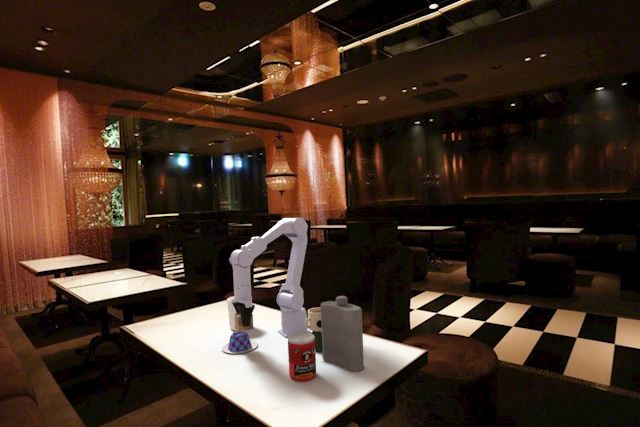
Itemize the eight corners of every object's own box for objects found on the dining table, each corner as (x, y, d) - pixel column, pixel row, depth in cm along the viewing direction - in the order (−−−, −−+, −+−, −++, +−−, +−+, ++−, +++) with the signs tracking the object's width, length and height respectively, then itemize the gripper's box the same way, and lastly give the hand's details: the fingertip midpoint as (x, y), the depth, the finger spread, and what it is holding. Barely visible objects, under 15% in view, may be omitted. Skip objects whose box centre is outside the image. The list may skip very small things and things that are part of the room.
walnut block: (249, 325, 127) (248, 310, 127) (253, 328, 123) (252, 314, 123) (235, 327, 125) (234, 313, 125) (238, 331, 121) (238, 316, 121)
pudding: (214, 350, 124) (214, 335, 124) (241, 339, 133) (241, 325, 133) (238, 358, 117) (237, 342, 117) (264, 346, 126) (264, 331, 126)
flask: (369, 366, 106) (366, 298, 106) (356, 373, 102) (353, 303, 101) (332, 353, 117) (330, 291, 116) (319, 359, 113) (317, 295, 112)
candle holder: (240, 332, 141) (239, 302, 140) (223, 329, 146) (221, 299, 146) (257, 325, 149) (256, 296, 149) (240, 322, 154) (239, 294, 154)
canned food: (294, 384, 97) (293, 344, 97) (285, 373, 104) (283, 335, 104) (321, 378, 100) (319, 338, 100) (310, 367, 107) (308, 330, 107)
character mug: (313, 356, 115) (311, 315, 115) (300, 350, 121) (298, 311, 120) (339, 347, 122) (337, 308, 122) (325, 341, 127) (324, 304, 127)
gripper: (225, 282, 129) (227, 320, 129) (236, 289, 116) (238, 332, 116) (245, 280, 132) (246, 317, 132) (257, 286, 119) (259, 327, 119)
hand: (244, 323), depth 124 cm, fingers closed on walnut block, 5 cm apart
